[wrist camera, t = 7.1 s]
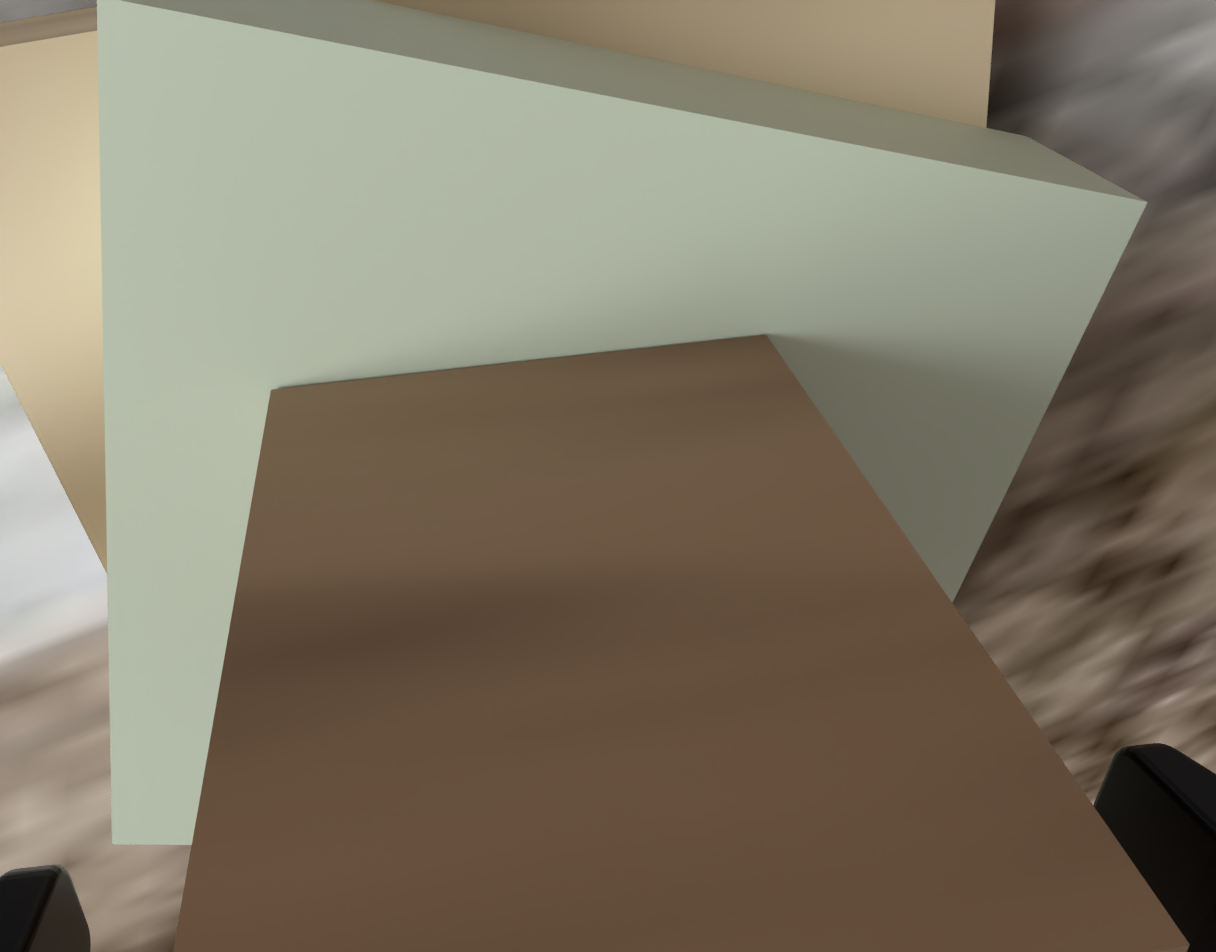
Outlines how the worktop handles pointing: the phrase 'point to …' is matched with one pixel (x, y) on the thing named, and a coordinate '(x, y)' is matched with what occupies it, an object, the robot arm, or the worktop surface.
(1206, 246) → the worktop surface
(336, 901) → the walnut block
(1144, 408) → the worktop surface
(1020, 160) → the sage slab
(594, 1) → the maple slab
